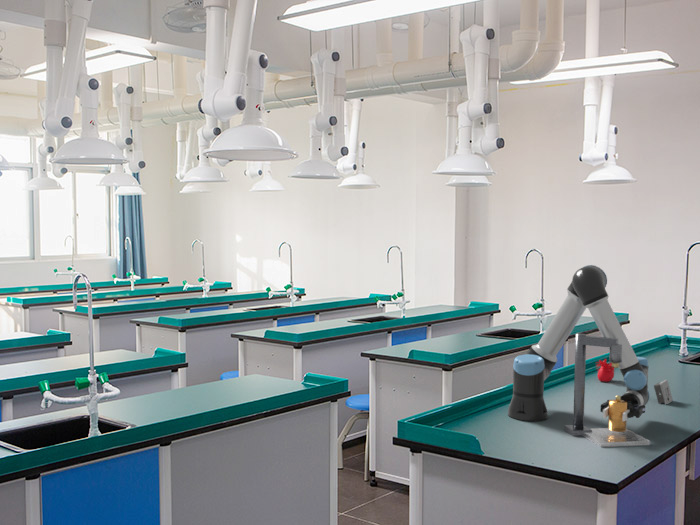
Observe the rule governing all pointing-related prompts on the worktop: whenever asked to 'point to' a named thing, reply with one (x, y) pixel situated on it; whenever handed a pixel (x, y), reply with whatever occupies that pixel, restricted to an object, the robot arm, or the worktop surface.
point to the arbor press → (598, 435)
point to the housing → (617, 415)
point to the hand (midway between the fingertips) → (613, 415)
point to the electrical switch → (663, 392)
